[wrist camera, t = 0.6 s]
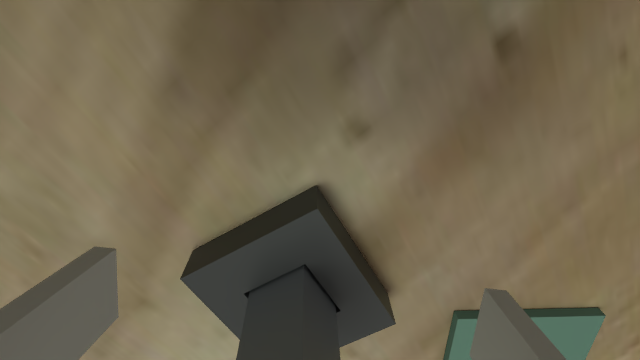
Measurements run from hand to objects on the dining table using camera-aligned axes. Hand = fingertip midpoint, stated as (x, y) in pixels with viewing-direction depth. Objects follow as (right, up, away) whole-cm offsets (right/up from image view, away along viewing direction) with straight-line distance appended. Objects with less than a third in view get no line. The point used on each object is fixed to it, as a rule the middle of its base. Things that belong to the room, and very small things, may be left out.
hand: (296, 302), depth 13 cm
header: (-1, -4, +19) cm, 20 cm away
